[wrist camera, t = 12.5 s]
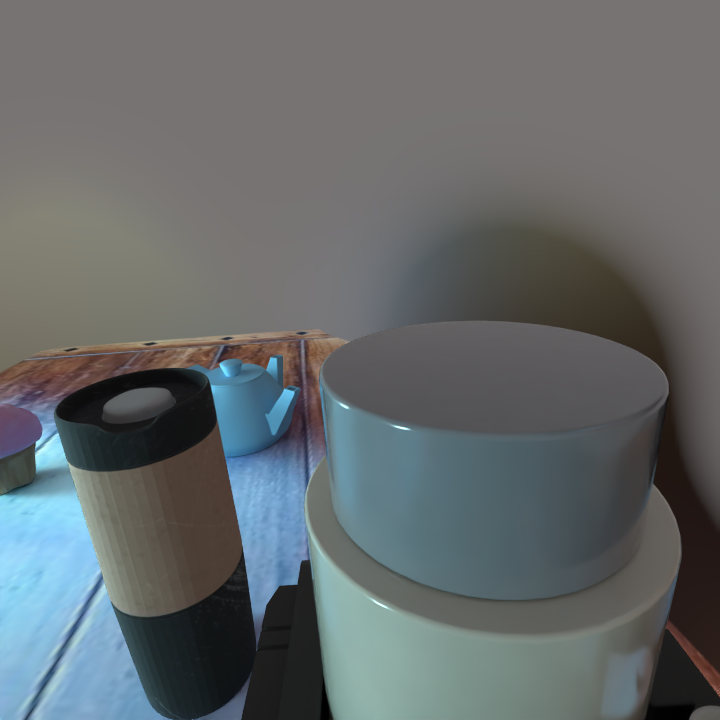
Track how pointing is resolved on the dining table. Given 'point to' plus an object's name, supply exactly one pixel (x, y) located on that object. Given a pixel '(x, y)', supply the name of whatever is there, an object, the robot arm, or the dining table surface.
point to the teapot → (250, 404)
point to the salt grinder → (490, 525)
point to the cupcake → (17, 446)
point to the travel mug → (164, 532)
